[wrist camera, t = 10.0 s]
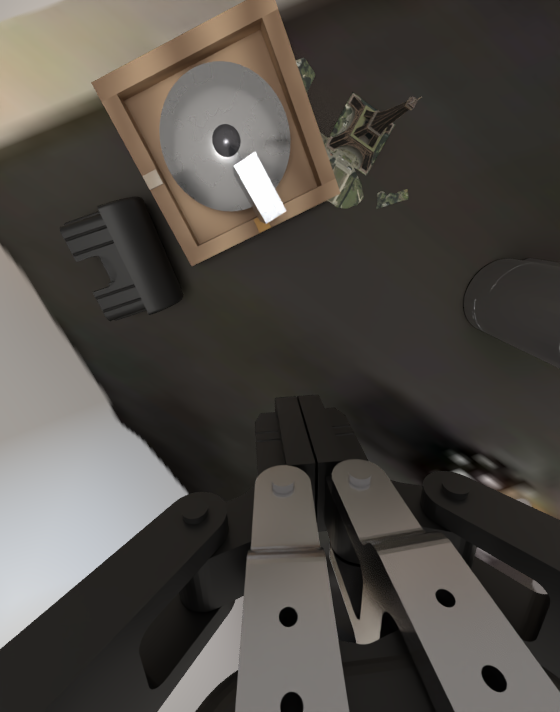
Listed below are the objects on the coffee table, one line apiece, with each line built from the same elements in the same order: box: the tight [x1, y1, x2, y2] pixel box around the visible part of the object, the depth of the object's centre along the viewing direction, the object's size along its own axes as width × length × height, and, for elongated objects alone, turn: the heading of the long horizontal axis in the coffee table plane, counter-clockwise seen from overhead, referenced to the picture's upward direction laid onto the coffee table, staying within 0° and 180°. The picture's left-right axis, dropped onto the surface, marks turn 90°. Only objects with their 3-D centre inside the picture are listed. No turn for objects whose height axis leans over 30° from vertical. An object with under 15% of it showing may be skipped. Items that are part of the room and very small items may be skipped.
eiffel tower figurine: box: [295, 58, 422, 209], centre depth 30 cm, size 15×10×13 cm
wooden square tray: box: [91, 0, 341, 266], centre depth 33 cm, size 16×16×4 cm
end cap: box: [60, 197, 183, 321], centre depth 34 cm, size 10×7×7 cm
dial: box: [159, 61, 291, 224], centre depth 28 cm, size 13×11×9 cm
